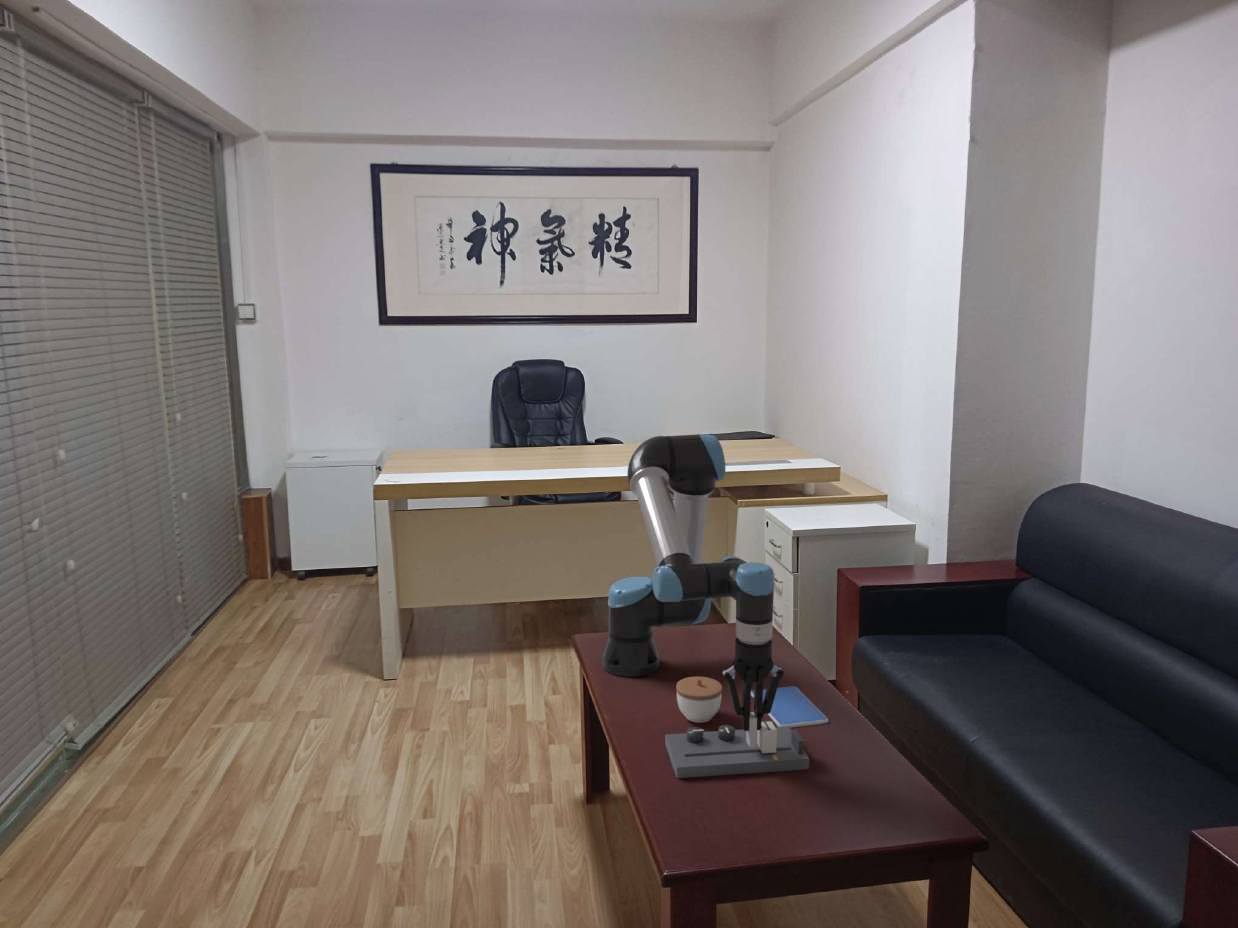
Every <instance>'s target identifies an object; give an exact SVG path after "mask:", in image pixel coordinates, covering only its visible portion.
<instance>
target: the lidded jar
mask: <svg viewBox="0 0 1238 928" xmlns="http://www.w3.org/2000/svg"><path fill="white" fill-rule="evenodd" d="M675 686H676V687H675V689H676V690H675V691H676V703H677V707H678V708H679V711H680V712H681V714H683V716H684V717H685V718H686V720H688V721H690V722H692V723H697V724H700V723H701V724H703V723H704V724H705V723H707V722H710V721H711V720H712V719H713V717H714V716H716V714H717V713H718V711H719V709H720V707H721V704H722V693H723V685H722V684H721V682H719V681H718V680H716V679H713V678H711V677H708V676H707V677H706V676H689V677H684V678H682V679H680V680H679V681H678V682H677V683H676V685H675Z"/></svg>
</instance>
